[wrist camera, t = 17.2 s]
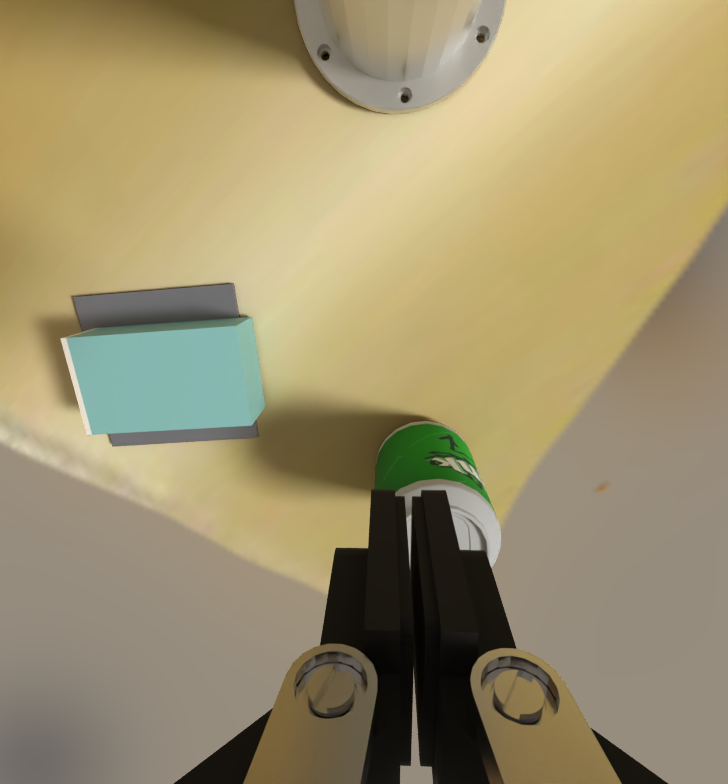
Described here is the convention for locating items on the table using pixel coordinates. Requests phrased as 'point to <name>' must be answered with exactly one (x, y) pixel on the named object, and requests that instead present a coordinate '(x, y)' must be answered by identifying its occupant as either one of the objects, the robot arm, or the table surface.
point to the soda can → (440, 481)
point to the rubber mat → (164, 310)
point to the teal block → (166, 376)
